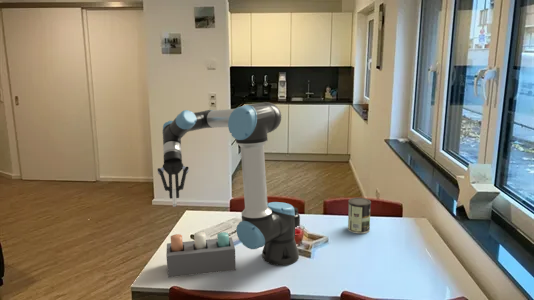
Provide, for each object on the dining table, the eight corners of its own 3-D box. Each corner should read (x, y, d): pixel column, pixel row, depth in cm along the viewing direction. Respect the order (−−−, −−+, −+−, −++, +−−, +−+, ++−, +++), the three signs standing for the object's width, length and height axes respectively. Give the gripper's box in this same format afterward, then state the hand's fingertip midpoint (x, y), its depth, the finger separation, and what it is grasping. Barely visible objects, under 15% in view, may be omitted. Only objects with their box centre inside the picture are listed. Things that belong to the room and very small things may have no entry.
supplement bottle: (298, 236, 206) (298, 211, 203) (284, 235, 207) (283, 210, 204) (300, 230, 212) (300, 206, 209) (286, 229, 213) (286, 205, 211)
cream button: (205, 245, 179) (205, 231, 178) (206, 250, 175) (205, 236, 174) (194, 246, 179) (193, 232, 177) (195, 251, 174) (194, 237, 173)
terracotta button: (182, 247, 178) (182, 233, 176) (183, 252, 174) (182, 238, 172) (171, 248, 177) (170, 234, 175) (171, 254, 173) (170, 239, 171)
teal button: (228, 245, 181) (227, 231, 180) (229, 250, 177) (229, 236, 176) (217, 246, 181) (216, 232, 179) (218, 251, 176) (217, 237, 175)
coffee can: (367, 224, 217) (368, 197, 214) (371, 233, 207) (373, 204, 204) (346, 224, 218) (346, 197, 214) (349, 233, 208) (350, 205, 204)
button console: (232, 257, 186) (231, 237, 184) (235, 270, 176) (235, 249, 174) (168, 264, 182) (166, 243, 179) (167, 277, 171) (166, 255, 169)
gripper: (188, 158, 195) (191, 207, 183) (157, 159, 193) (158, 210, 181) (187, 149, 189) (191, 199, 177) (156, 150, 187) (157, 202, 175)
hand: (174, 205), depth 179 cm, fingers closed
